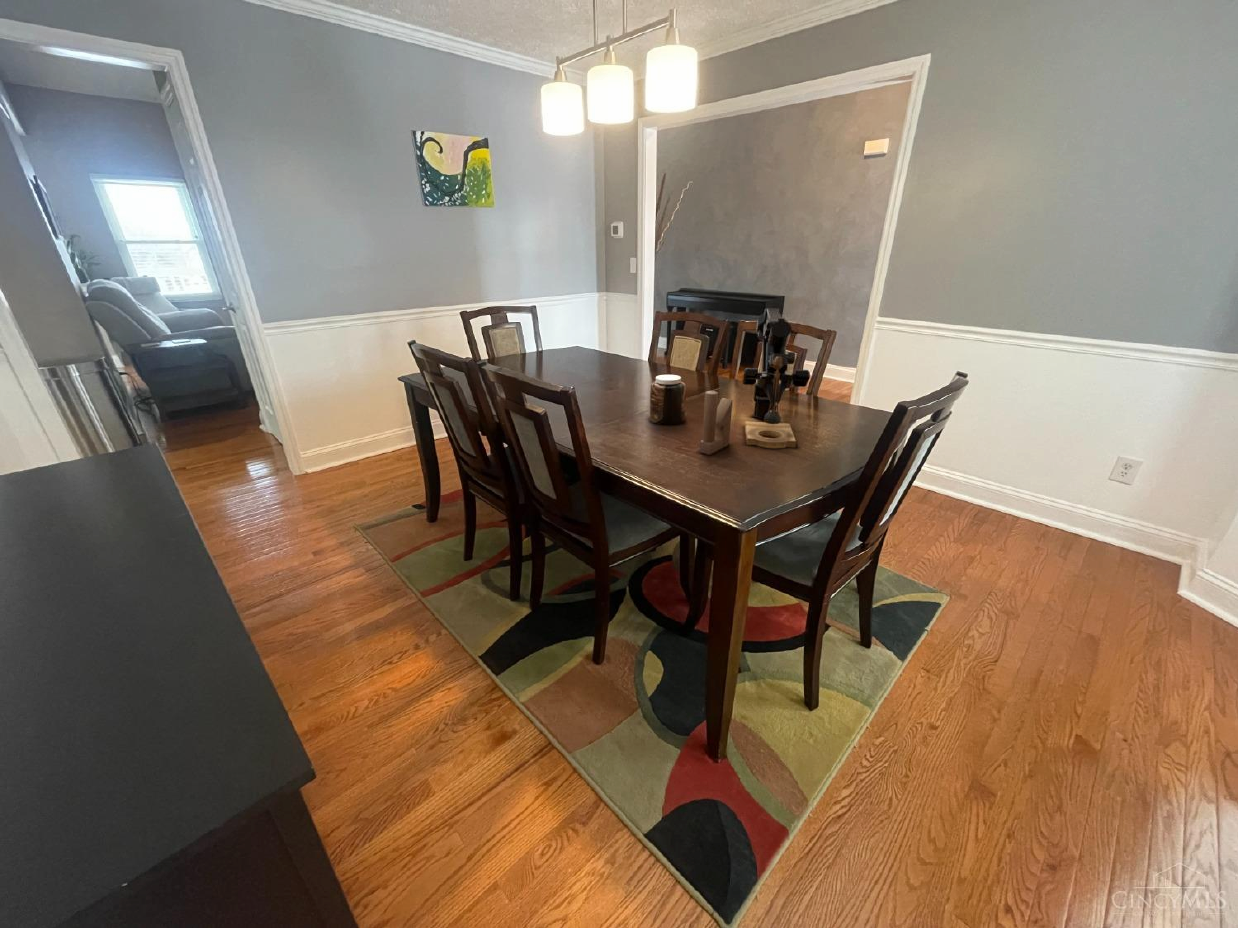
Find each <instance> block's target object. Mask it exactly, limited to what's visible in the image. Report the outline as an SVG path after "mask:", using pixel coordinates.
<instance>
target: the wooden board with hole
mask: <svg viewBox="0 0 1238 928" xmlns="http://www.w3.org/2000/svg"><path fill="white" fill-rule="evenodd" d="M792 429H793V428H792V427H791V424H790V423H782V422H780V423H779V424H768V423H765V422H764V421H763V422H761V421H745V422H744V433H745V440H746V445H747V446H757V447H759V448H765V449H784V448H796V444H797V440H796V438H795V435H794V432H793V430H792Z"/></svg>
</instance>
